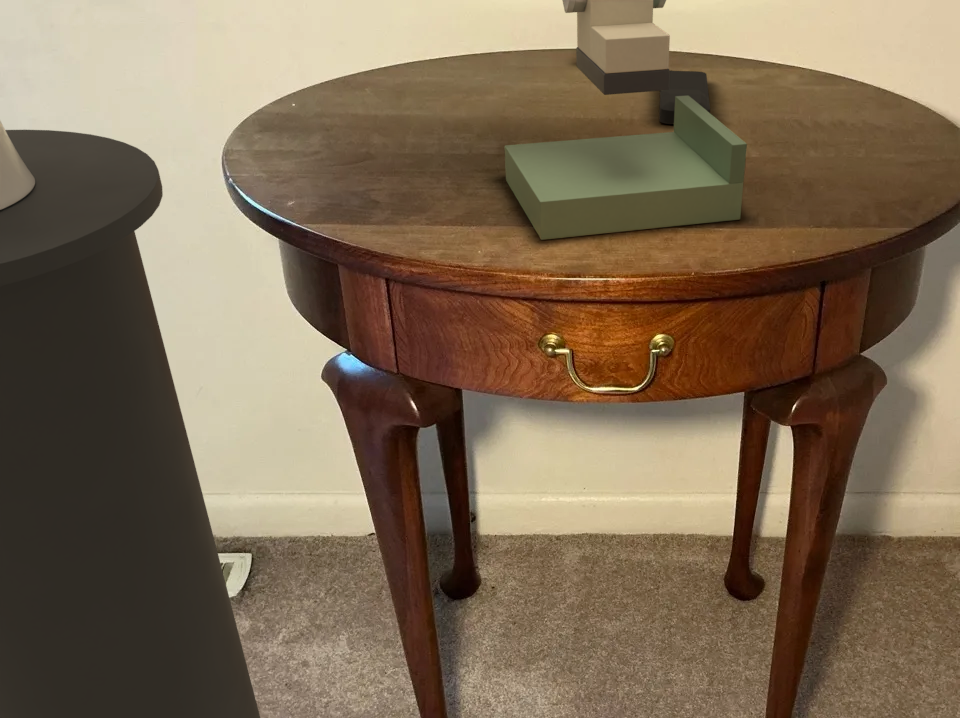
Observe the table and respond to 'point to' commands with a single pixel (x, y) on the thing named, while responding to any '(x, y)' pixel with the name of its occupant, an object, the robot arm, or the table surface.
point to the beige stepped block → (622, 47)
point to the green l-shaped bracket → (631, 178)
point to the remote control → (683, 92)
